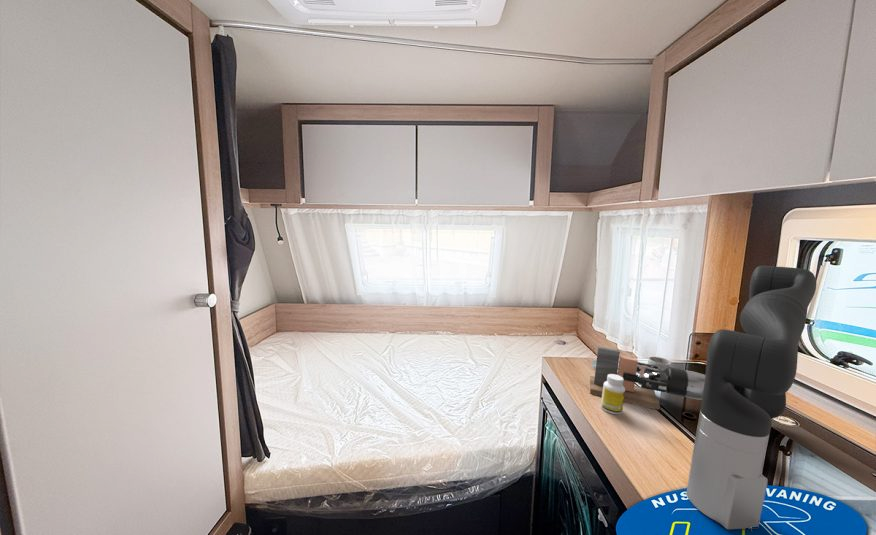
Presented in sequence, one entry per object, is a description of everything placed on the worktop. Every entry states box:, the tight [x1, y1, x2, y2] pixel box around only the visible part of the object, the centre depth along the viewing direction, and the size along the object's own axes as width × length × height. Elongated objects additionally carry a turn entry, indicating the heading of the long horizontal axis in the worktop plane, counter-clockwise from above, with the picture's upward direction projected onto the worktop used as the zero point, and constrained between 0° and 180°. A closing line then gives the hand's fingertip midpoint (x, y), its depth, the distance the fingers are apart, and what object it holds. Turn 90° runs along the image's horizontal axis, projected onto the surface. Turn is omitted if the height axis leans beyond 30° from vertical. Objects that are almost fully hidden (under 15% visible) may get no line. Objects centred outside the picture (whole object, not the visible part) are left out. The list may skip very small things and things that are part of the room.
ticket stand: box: [589, 346, 661, 411], centre depth 99 cm, size 10×18×14 cm, turn 65°
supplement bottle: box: [600, 374, 625, 415], centre depth 90 cm, size 5×5×10 cm
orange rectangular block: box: [617, 355, 639, 392], centre depth 99 cm, size 2×5×10 cm, turn 65°
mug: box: [647, 356, 673, 372], centre depth 113 cm, size 10×7×7 cm
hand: (621, 370), depth 99 cm, fingers open, 8 cm apart
